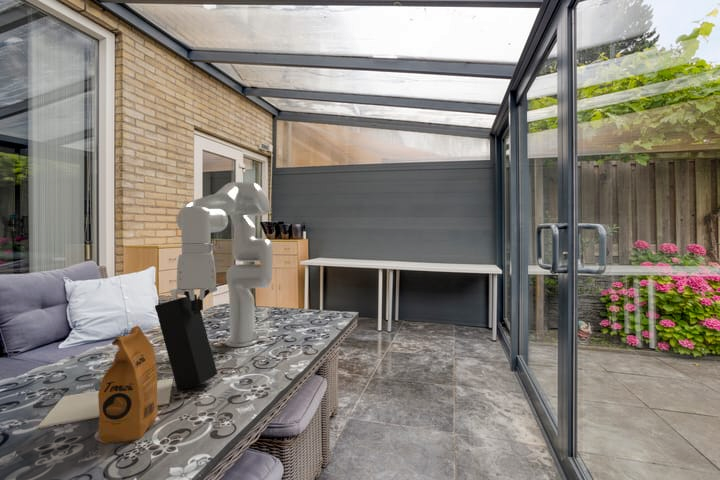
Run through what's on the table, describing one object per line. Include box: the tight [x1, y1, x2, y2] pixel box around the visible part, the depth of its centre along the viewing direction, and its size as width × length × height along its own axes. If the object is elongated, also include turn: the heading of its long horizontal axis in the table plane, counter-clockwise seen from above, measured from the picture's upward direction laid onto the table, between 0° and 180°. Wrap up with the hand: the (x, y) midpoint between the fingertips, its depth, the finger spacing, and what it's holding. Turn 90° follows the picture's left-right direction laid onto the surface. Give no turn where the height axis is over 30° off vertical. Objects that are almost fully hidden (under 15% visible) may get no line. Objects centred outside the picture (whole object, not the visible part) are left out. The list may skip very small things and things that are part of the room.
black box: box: [154, 288, 218, 391], centre depth 99 cm, size 8×8×28 cm
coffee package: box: [98, 325, 159, 444], centre depth 77 cm, size 10×12×22 cm
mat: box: [37, 377, 174, 430], centre depth 90 cm, size 26×16×1 cm, turn 115°
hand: (197, 313), depth 98 cm, fingers closed
